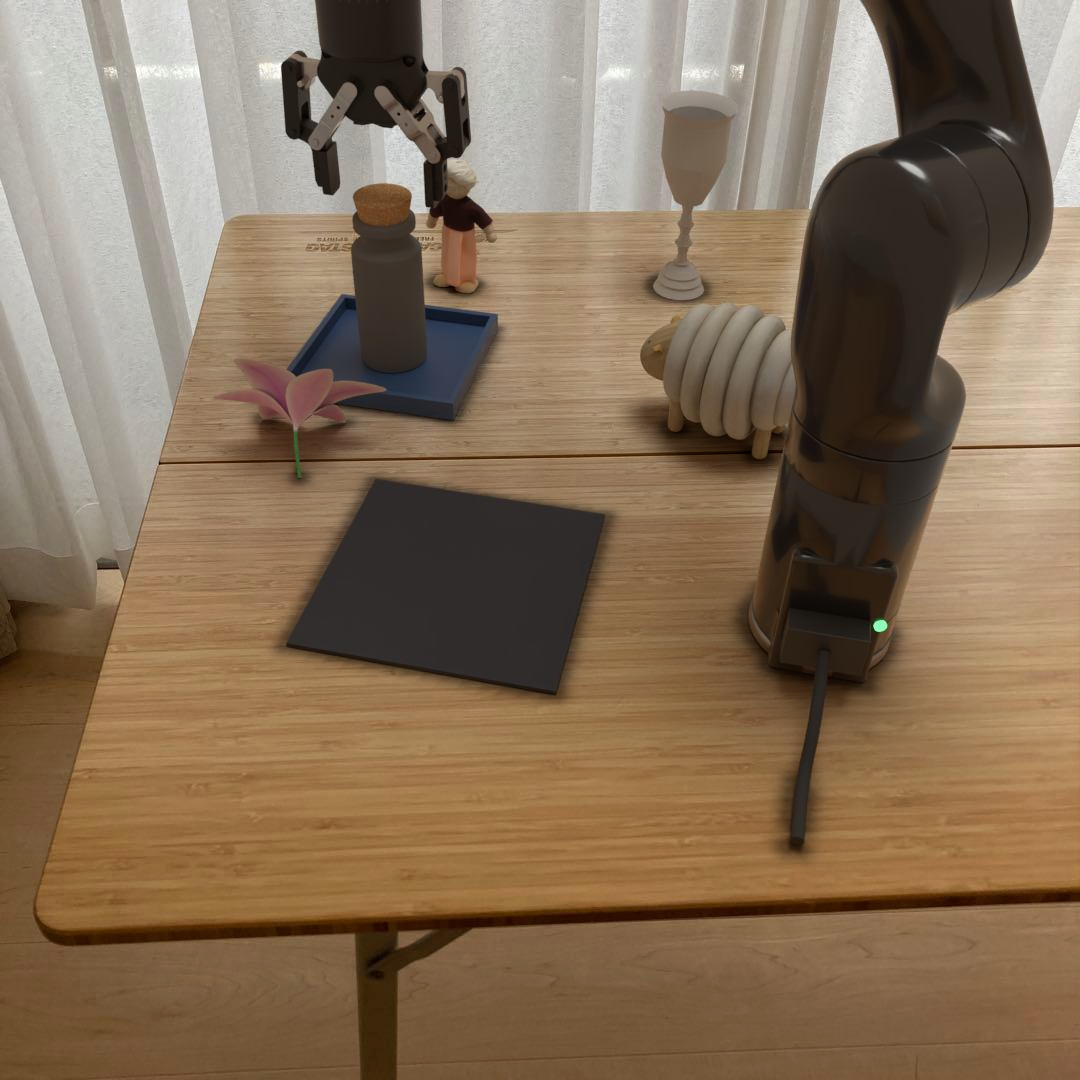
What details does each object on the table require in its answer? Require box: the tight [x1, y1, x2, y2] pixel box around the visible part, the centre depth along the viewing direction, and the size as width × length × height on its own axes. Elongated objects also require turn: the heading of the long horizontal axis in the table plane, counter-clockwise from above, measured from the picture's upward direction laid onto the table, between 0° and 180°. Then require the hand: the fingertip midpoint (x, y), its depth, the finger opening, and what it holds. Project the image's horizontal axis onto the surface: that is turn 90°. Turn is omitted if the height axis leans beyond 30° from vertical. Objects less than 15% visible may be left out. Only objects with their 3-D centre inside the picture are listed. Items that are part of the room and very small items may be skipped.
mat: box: [285, 478, 606, 695], centre depth 78 cm, size 18×18×1 cm
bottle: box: [350, 182, 427, 373], centre depth 94 cm, size 6×6×15 cm
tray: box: [285, 293, 499, 421], centre depth 99 cm, size 15×15×2 cm
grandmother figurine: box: [425, 158, 498, 294], centre depth 106 cm, size 8×4×13 cm, turn 73°
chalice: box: [652, 90, 739, 301], centre depth 105 cm, size 7×7×18 cm
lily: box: [212, 357, 387, 479], centre depth 86 cm, size 12×12×10 cm
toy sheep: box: [639, 302, 796, 460], centre depth 88 cm, size 11×17×11 cm, turn 65°
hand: (382, 197), depth 89 cm, fingers open, 8 cm apart
